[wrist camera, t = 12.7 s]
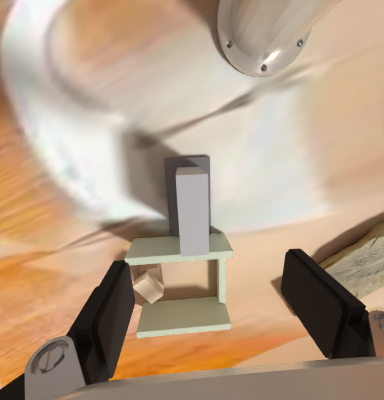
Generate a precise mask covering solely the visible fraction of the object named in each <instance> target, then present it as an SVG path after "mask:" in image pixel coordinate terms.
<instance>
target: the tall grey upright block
mask: <svg viewBox="0 0 384 400" xmlns="http://www.w3.org/2000/svg"><path fill="white" fill-rule="evenodd" d="M176 189H177V204H178V220H179V236H180V251H181V257H185V256H199V255H209V208H208V173H206V172H205V171H204V170H203V169H202V168H201V167H177V171H176Z"/></svg>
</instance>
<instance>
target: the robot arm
mask: <svg viewBox="0 0 384 400" xmlns="http://www.w3.org/2000/svg"><path fill="white" fill-rule="evenodd" d="M341 1H342V0H220V3H219V6H218V13H217V33H218V39H219V42H220V45H221V48H222V51H223V52H224V54H225V56H226V58H227V59H228V61H229V62H230V63H231V64H232V65H233V66H234V67H235V68H236V69H237V70H239V71H240V72H242V73H244V74H246V75H249V76H253V77H266V76H271V75H273V74H276V73H278V72H280V71H281V70H283V69H284V68H286V67H287V66H288V65H289V64H291V63H292V62H293V61H294V60H295V59H296V58H297V56H298V55H299V54H300V53H301V51H302V50H303V48H304V46H305V45H306V42H307V40H308V38H309V35H310V32H311V29H312V28H313V27H314V26H315V25H316V24H317V23H318V22H319V21H320V20H321V19H322V18H324V17H325V16H326V15H327V14H328V13H329V12H330V11H331V10H332V9H333V8H334V7H335V6H336V5H338V4H339V3H340V2H341ZM227 46H229V47H230V48H228V47H227ZM261 69H262V71H261ZM281 291H282V294H283V296H284V297H285V299H286V300H287V302H288V303H289V304H290V306H291V307H292V309H293V310H294V312H295V313H296V315H297V316H298V318H299V319H300V321H301V322H302V324H303V325H304V327H305V328H306V330H307V331H308V333H309V334H310V336H311V337H312V338H313V340H314V341H315V343H316V345H317V346H318V348H319V349H320V350H321V352H322V353H323V355H324V356H325V357H326V358H329V359H327V360H315V361H303V362H293V363H281V364H269V365H258V366H247V367H236V368H225V369H214V370H204V371H193V372H183V373H173V374H163V375H153V376H144V377H136V378H128V379H119V380H112V381H108V380H109V378H112V377H113V375H114V373H115V369H116V366H117V362H118V359H119V356H120V352H121V349H122V346H123V342H124V339H125V336H126V332H127V329H128V325H129V322H130V319H131V315H132V312H133V309H134V305H135V297H134V291H133V285H132V279H131V273H130V268H129V263H128V262H127V263H126V261H125V260H118V261H114V262H113V263H112V265H111V267H110V268H109V270H108V272H107V273H106V275H105V277H104V278H103V280H102V282H101V283H100V285H99V286H97V287H96V288H95V289H94V290H93V292H92V294H91V295H90V297H89V299H88V300H87V302H86V303H85V305H84V307H83V308H82V310H81V312H80V313H79V315H78V317H77V318H76V320H75V321H74V323H73V325H72V326H71V328H70V330H69V331H68V333H67V335H66V336H60V337H57V338H54V339H52V340H50V341H48V342H47V343H45V344H44V345H42V346H41V347H40V348H39V349H38V350H37V351H36V352H35V353H34V354H33V355H32V357H31V358H30V359H29V361H28V363H27V365H26V367H25V373H23V374H22V375H20V376H19V377H18V378H16V379H15V380H13V381H12V382H10V383H9V384H8V385H6V386H5V387H3V388H2V389H0V400H384V312H383V311H371V312H370V313H369V312H368V311H367V310H365V308H366V306H365V305H364V304H363V303H362V302H361V301H360V300H358V299H357V298H356V297H355V296H354V295H353V294H352V293H350V292H349V291H348V290H347V289H346V288H345V287H344V286H342V285H341V284H340V283H339V282H338V281H337V280H336V279H334V278H333V277H332V276H331V275H330V274H329V273H328V272H326V271H325V270H324V269H323V268H322V267H321V266H320V265H318V264H317V263H316V262H315V261H314V260H313V259H312V258H310V257H309V256H308V255H307V254H306V253H305V252H304V251H302V250H301V249H289V250H288V252H286V255H285V262H284V269H283V277H282V284H281Z"/></svg>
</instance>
